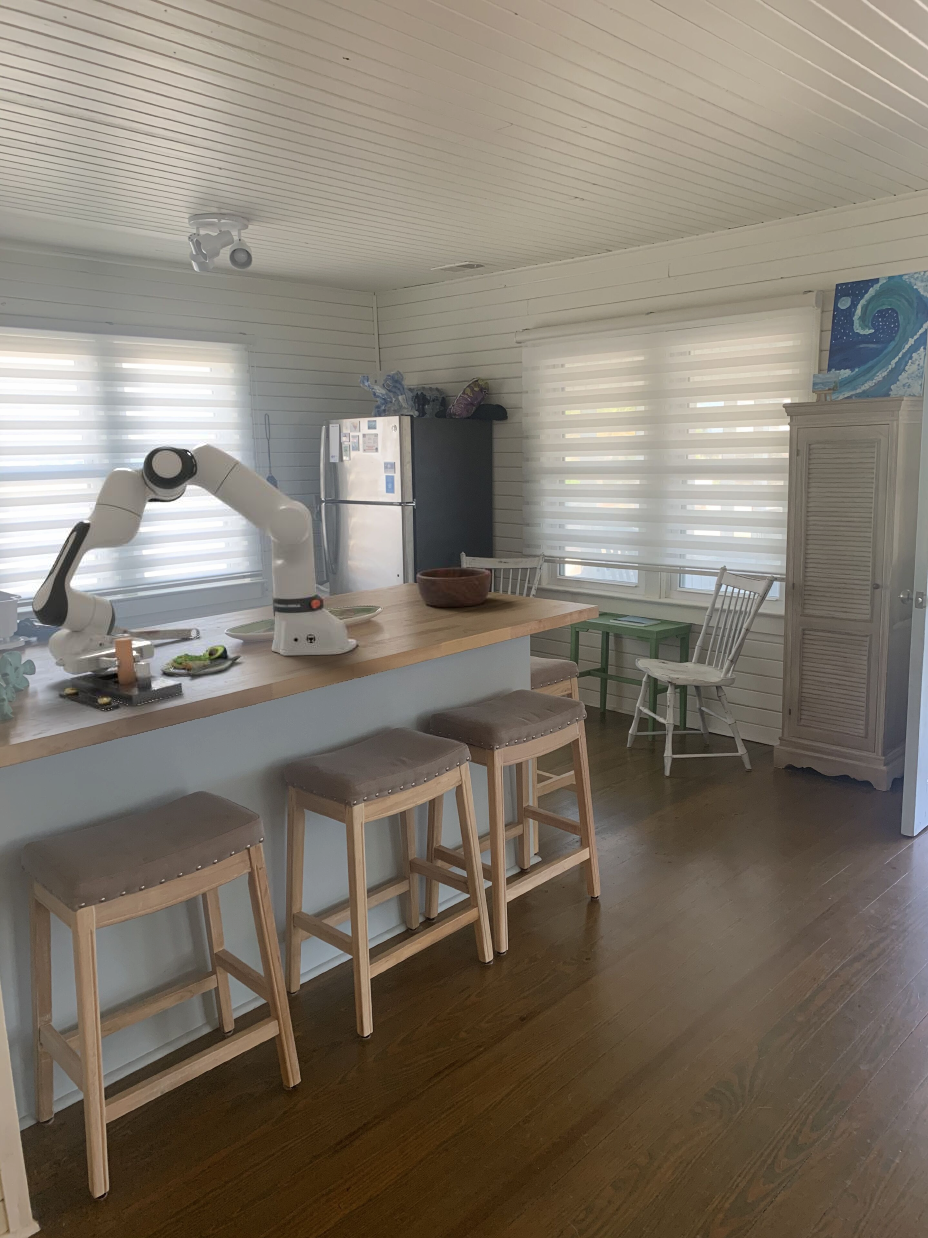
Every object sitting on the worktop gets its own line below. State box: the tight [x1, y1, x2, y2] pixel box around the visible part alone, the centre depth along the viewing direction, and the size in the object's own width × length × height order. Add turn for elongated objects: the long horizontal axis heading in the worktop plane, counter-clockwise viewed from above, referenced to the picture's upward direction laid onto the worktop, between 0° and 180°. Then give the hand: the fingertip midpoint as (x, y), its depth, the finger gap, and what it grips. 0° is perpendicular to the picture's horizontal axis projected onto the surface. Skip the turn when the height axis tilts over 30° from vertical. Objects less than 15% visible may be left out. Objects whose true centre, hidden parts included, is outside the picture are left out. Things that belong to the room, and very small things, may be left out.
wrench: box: [110, 624, 201, 641], centre depth 250 cm, size 8×2×30 cm
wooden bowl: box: [416, 567, 492, 608], centre depth 301 cm, size 25×25×10 cm
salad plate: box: [160, 644, 242, 676], centre depth 221 cm, size 19×18×5 cm
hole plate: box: [58, 661, 183, 711], centre depth 200 cm, size 26×17×8 cm, turn 51°
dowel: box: [114, 638, 136, 685], centre depth 201 cm, size 4×4×12 cm
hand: (127, 661), depth 200 cm, fingers closed on dowel, 4 cm apart
